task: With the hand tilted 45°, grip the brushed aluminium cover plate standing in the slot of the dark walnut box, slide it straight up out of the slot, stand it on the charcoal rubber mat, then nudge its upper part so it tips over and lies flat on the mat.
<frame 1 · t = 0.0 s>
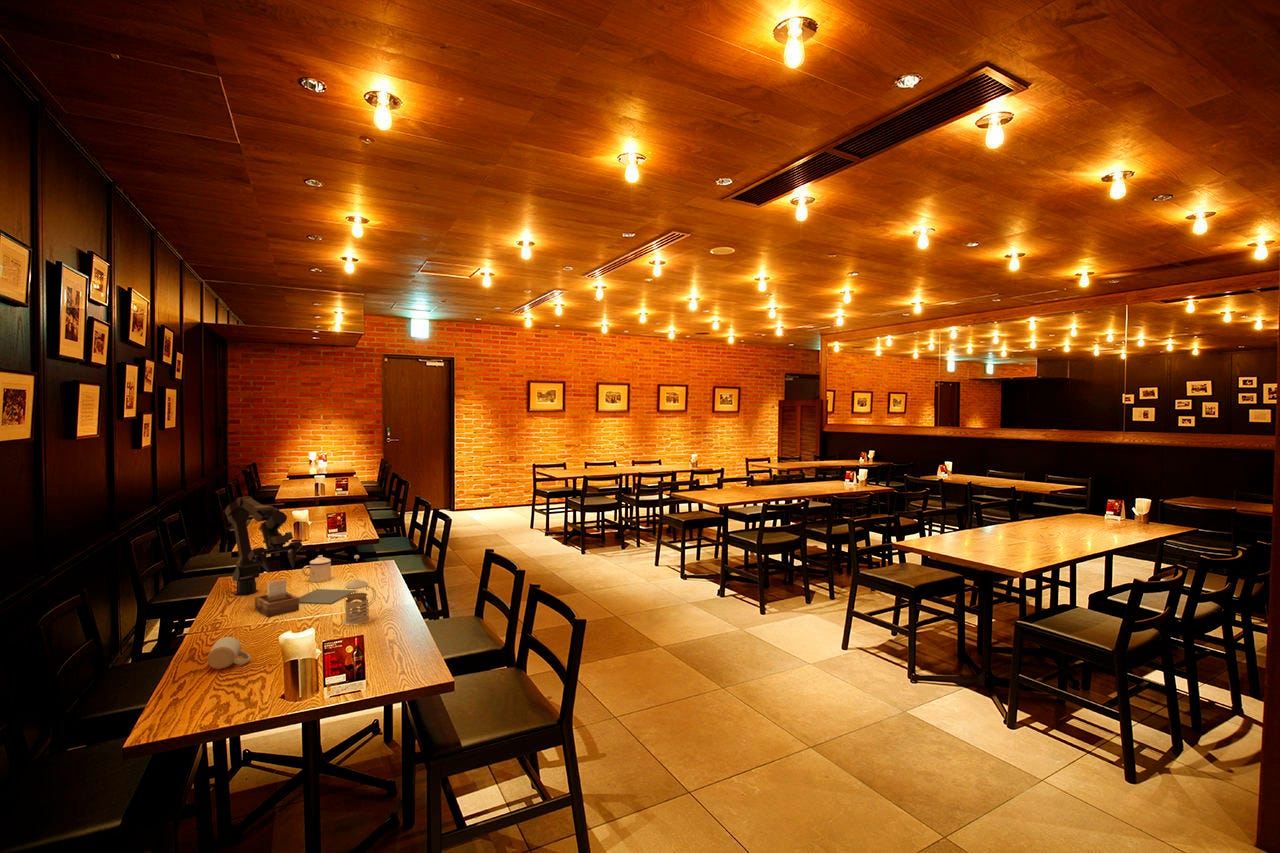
hand: (281, 569, 244), 15 cm above the table, tool tilted 35°, fingers open, 9 cm apart
ceramic mug: (229, 665, 188), on the table
teacup with lid: (317, 580, 282), on the table
slot box: (277, 610, 239), on the table
rubber mat: (323, 597, 257), on the table
french press: (359, 621, 228), on the table
cover plate: (276, 603, 239), point 3 cm above the table, touching slot box
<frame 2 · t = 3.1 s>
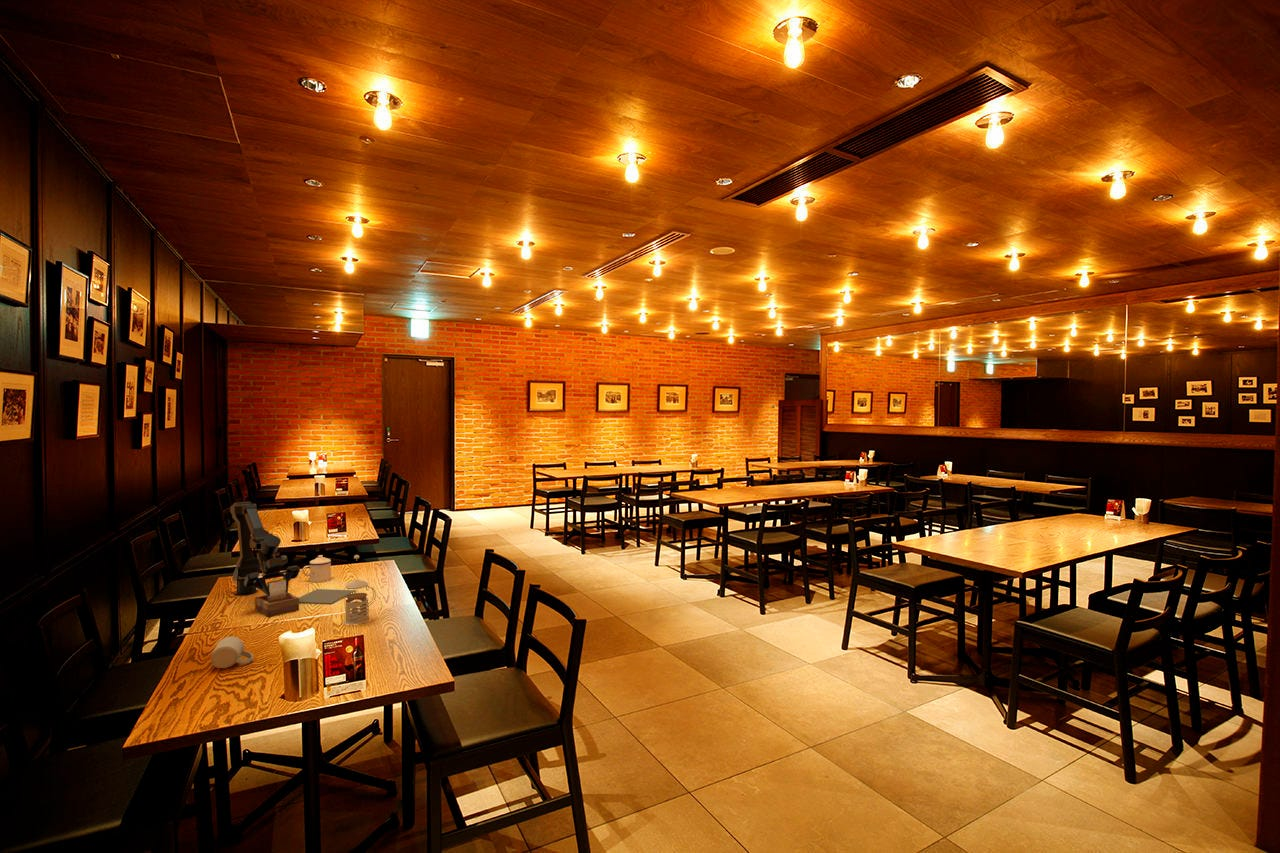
hand: (278, 593, 238), 7 cm above the table, tool tilted 45°, fingers closed on cover plate, 6 cm apart
cover plate: (276, 603, 239), point 3 cm above the table, touching gripper, slot box
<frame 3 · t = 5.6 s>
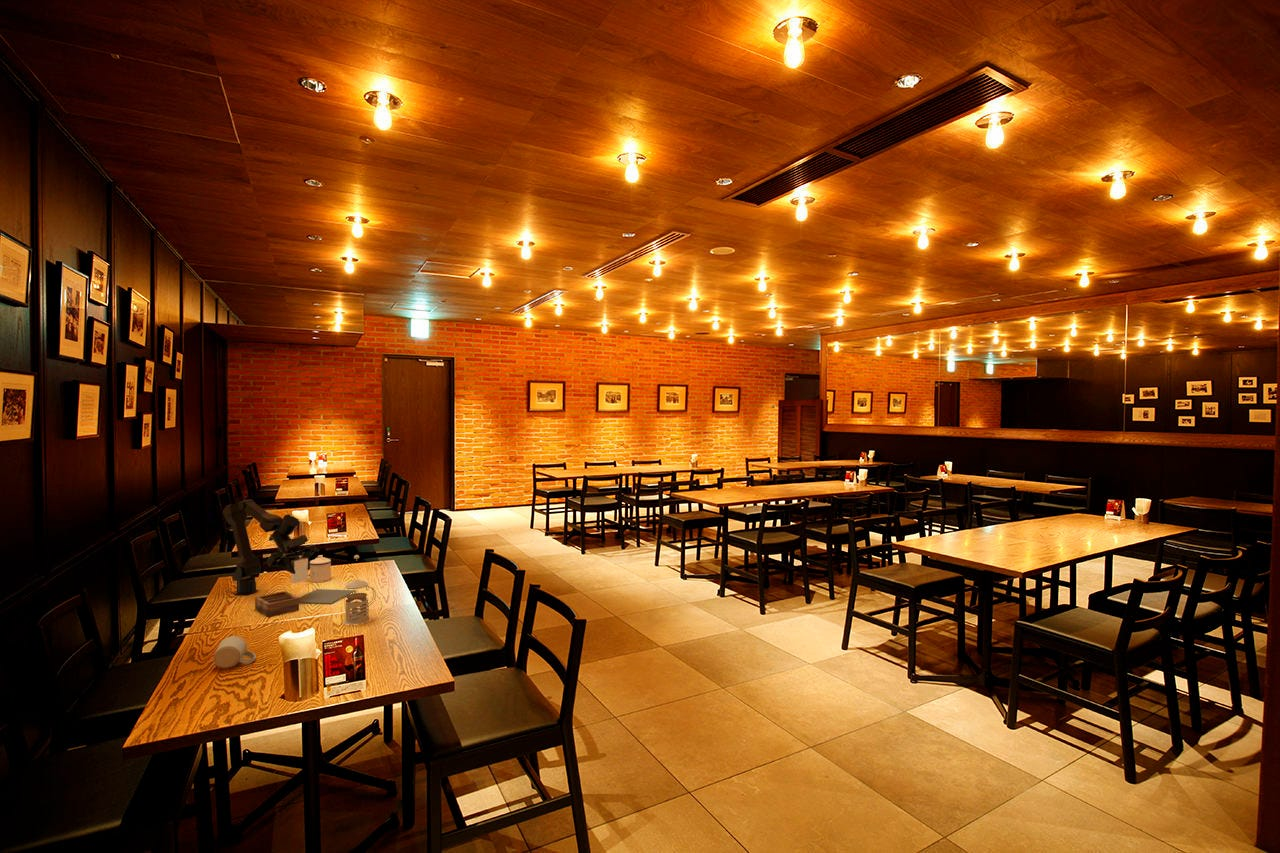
hand: (301, 571, 247), 13 cm above the table, tool tilted 45°, fingers closed on cover plate, 6 cm apart
cover plate: (299, 581, 248), point 9 cm above the table, touching gripper
when the fingers open (6 cm above the table, at t = 8.4 s): cover plate drops 2 cm, resting on rubber mat.
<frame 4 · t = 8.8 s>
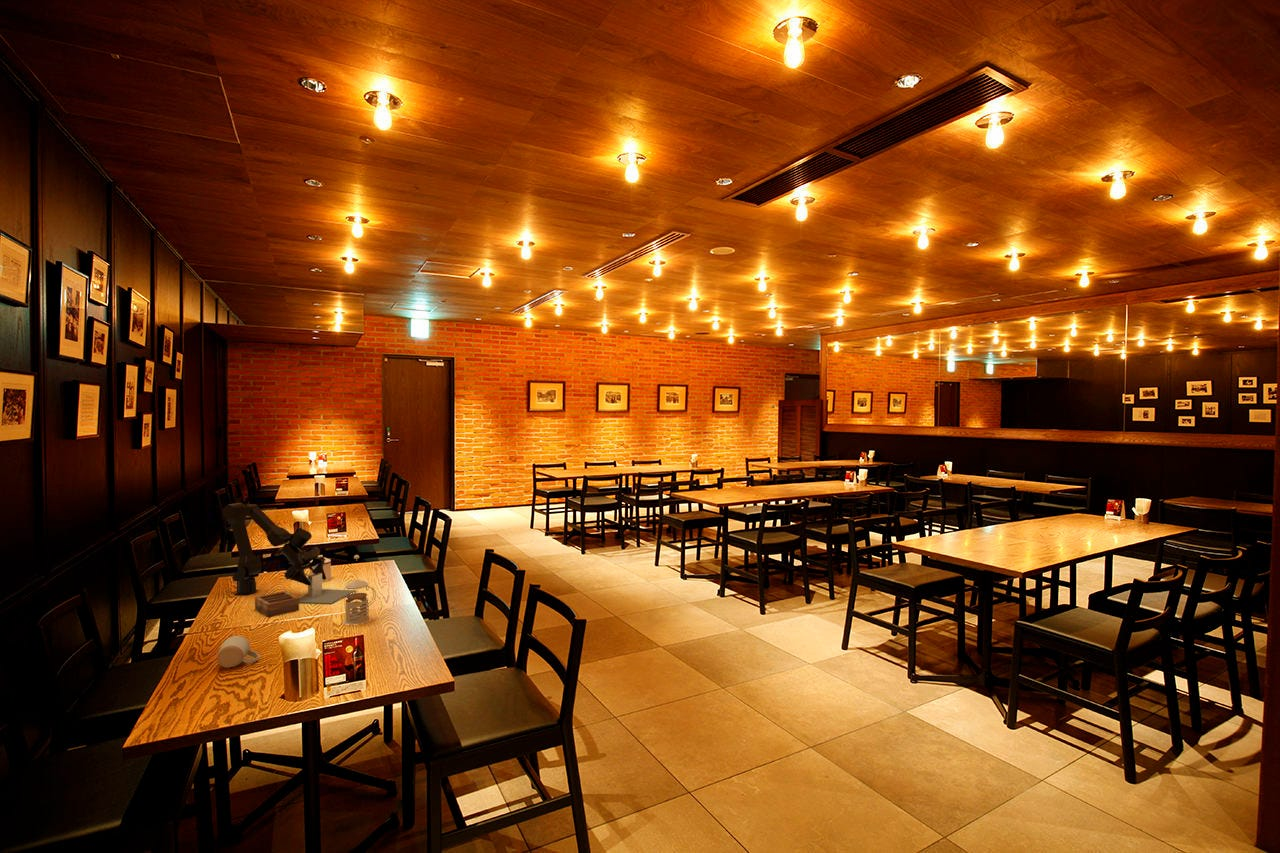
hand: (318, 582, 256), 7 cm above the table, tool tilted 45°, fingers open, 9 cm apart
cover plate: (315, 595, 256), point 1 cm above the table, touching rubber mat
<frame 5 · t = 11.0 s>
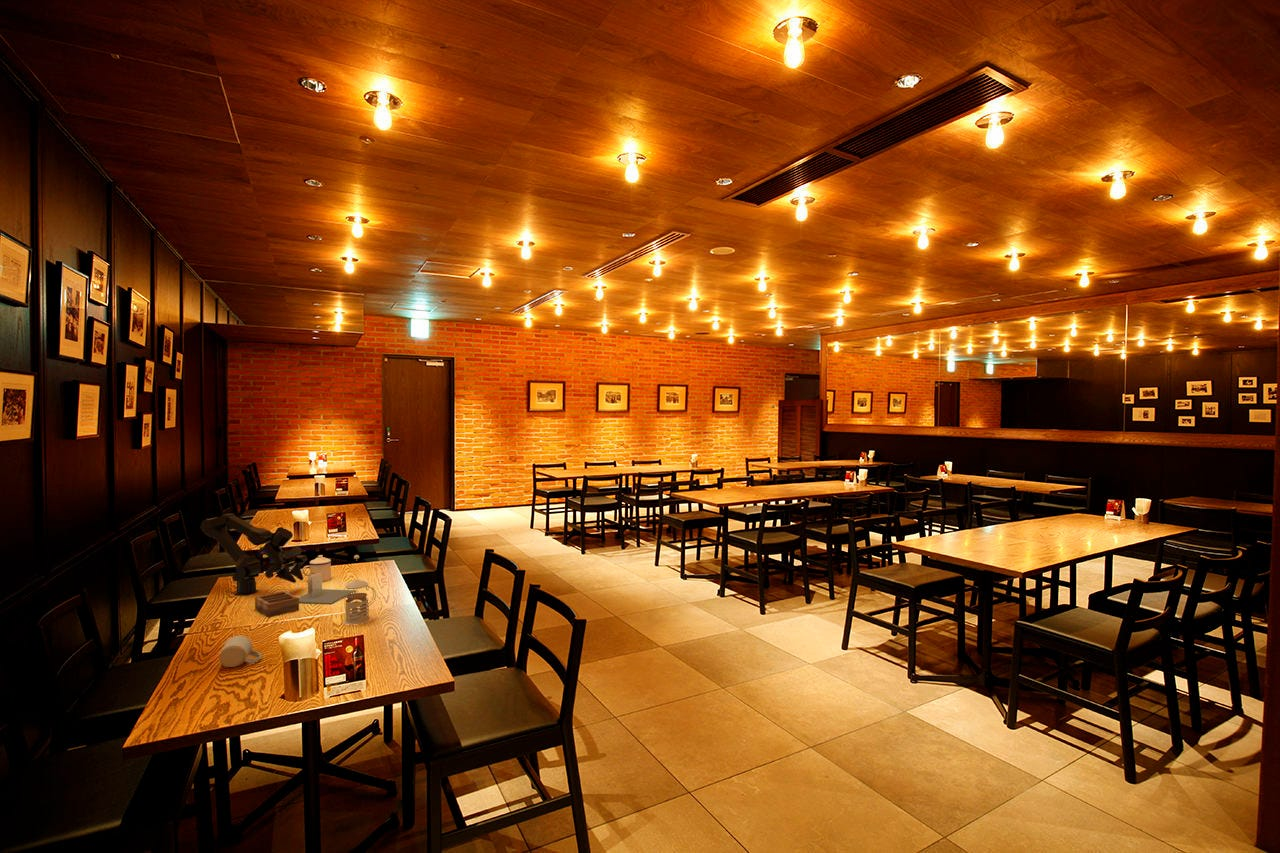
hand: (299, 580, 257), 7 cm above the table, tool tilted 45°, fingers open, 4 cm apart
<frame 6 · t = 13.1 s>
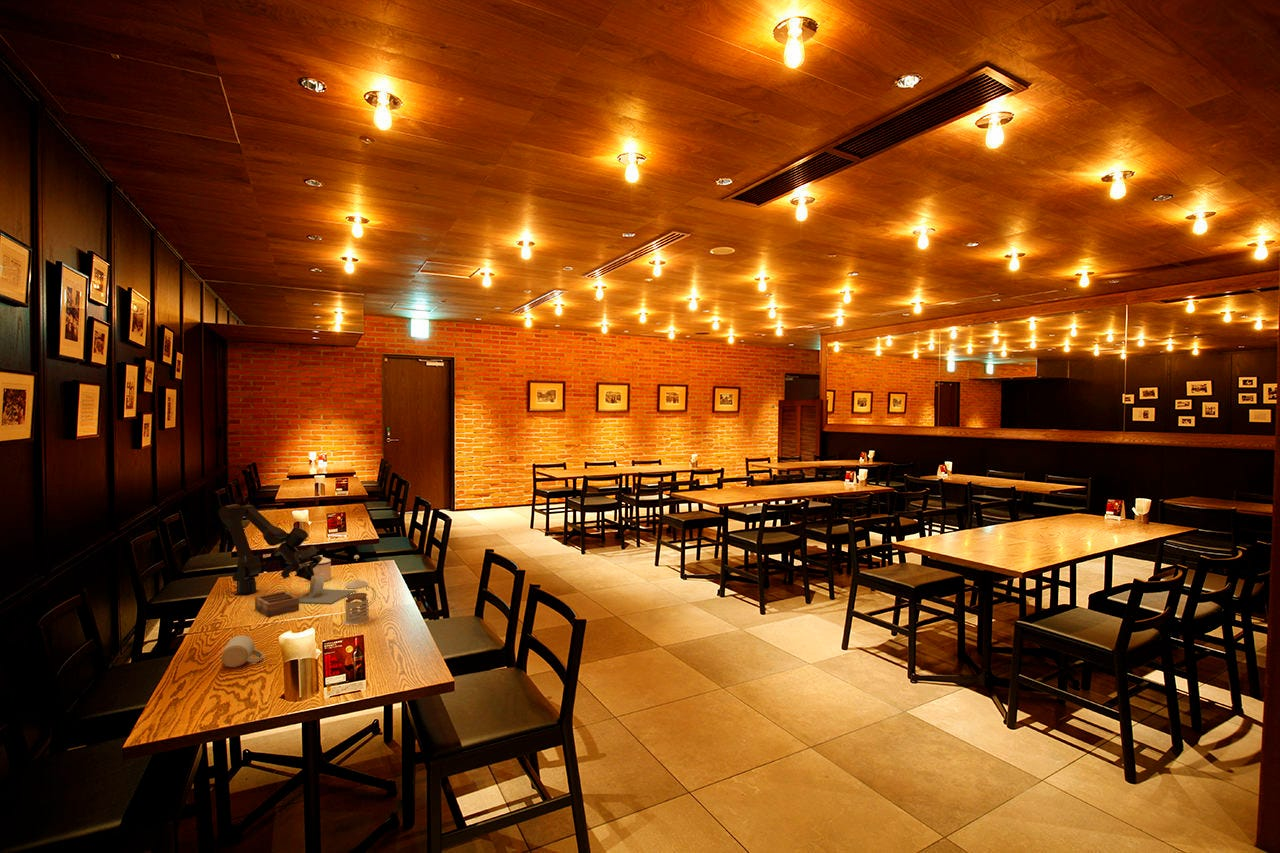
hand: (315, 581, 256), 7 cm above the table, tool tilted 45°, fingers closed
cover plate: (315, 595, 256), point 1 cm above the table, tilted 11°, touching rubber mat
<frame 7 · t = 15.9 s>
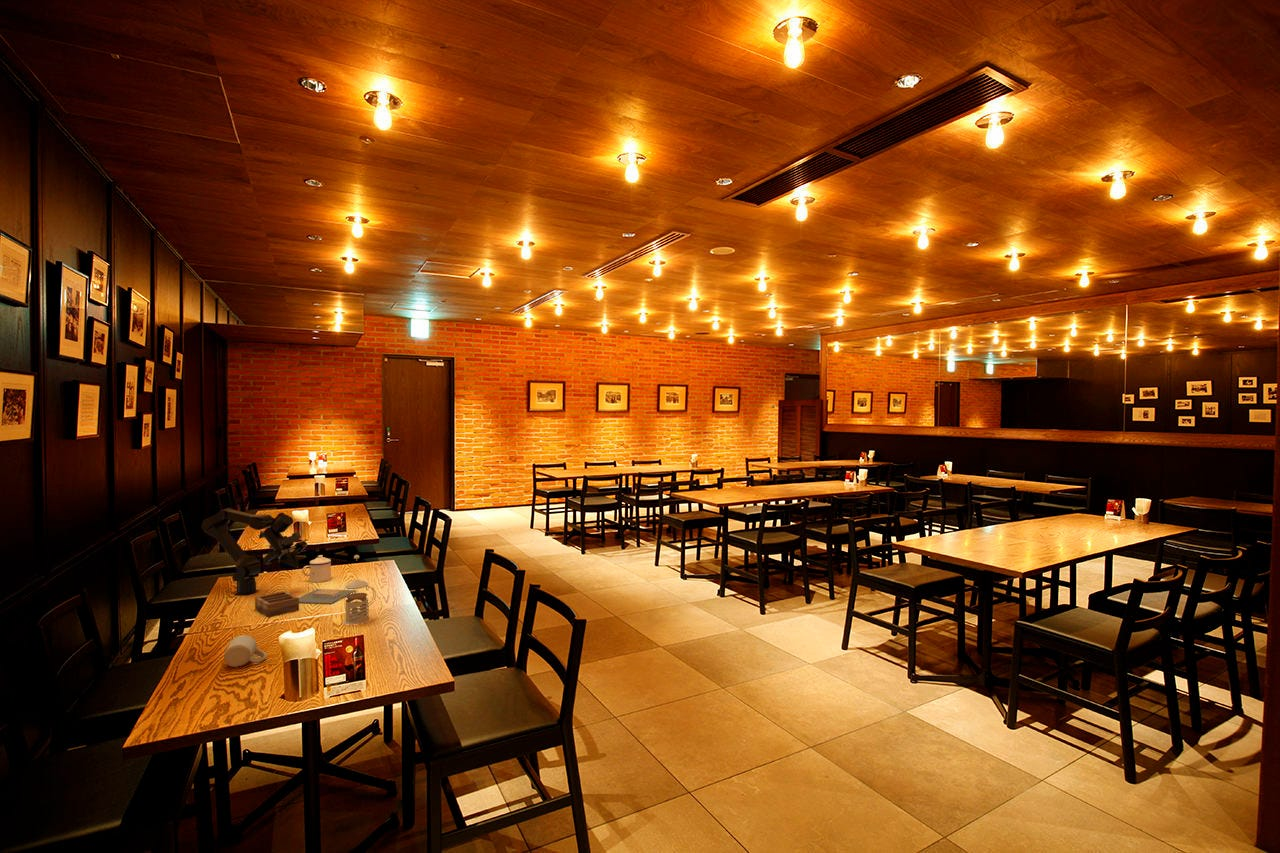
hand: (297, 567, 257), 12 cm above the table, tool tilted 40°, fingers closed
cover plate: (317, 593, 256), point 2 cm above the table, tilted 90°, touching rubber mat
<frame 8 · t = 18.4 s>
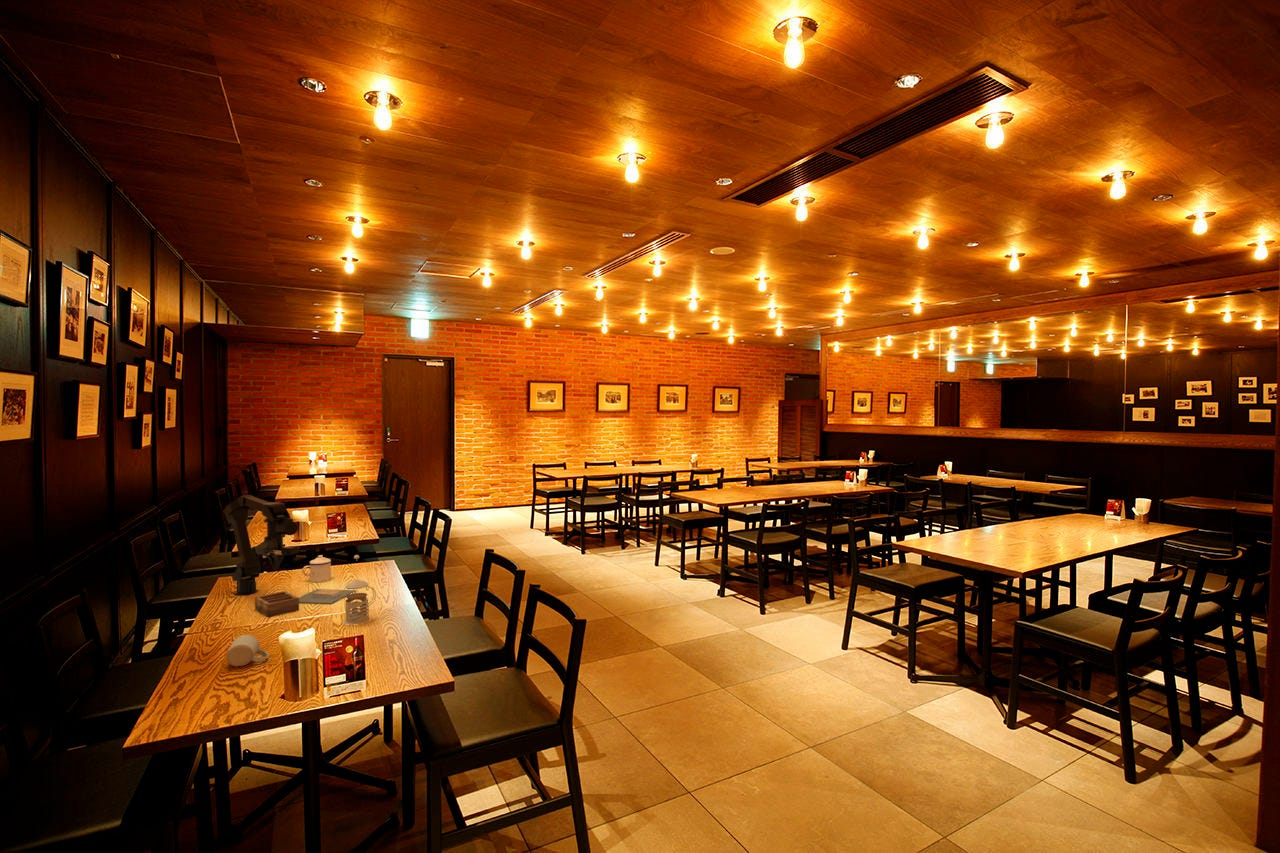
hand: (275, 570, 254), 12 cm above the table, tool pointing down, fingers closed
at the end: cover plate inside the target area on the rubber mat (2.6 cm from its centre), point 1.6 cm above the rubber mat's base; cover plate tilted 90°; the gripper is holding nothing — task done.
